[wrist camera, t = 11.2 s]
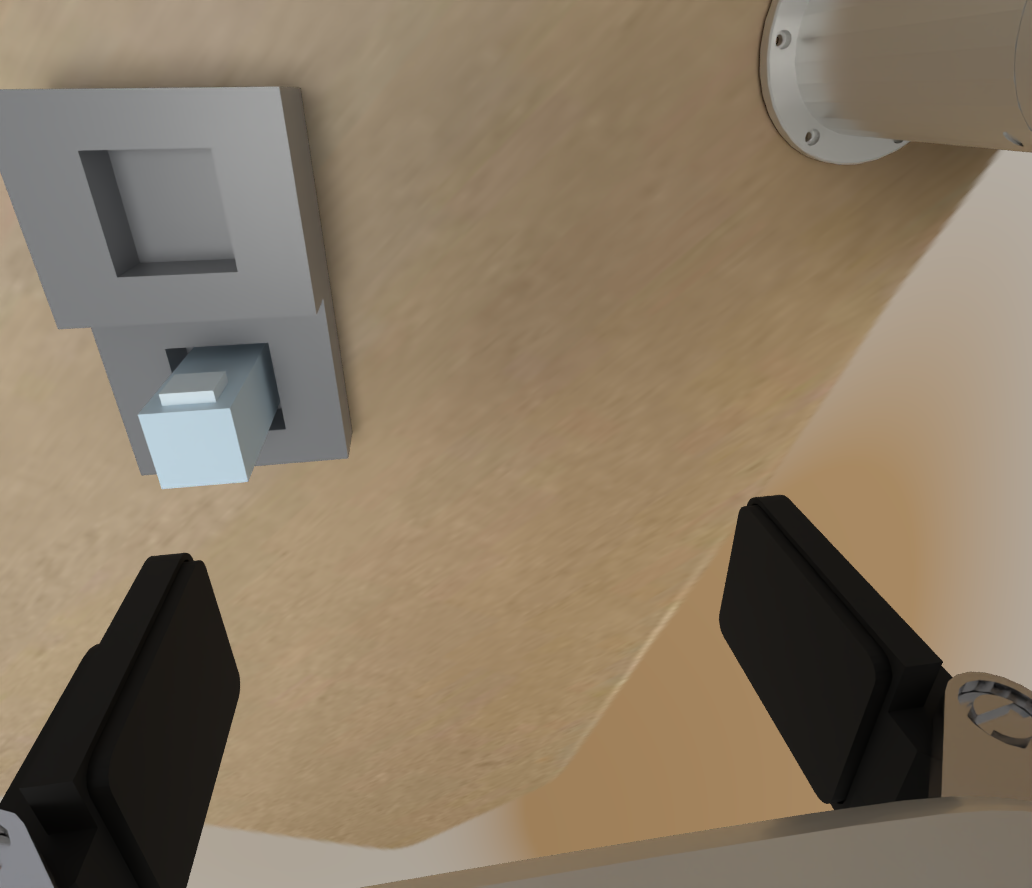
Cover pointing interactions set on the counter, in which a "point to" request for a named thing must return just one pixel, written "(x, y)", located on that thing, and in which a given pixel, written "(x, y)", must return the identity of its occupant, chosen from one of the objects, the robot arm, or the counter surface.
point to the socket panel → (182, 241)
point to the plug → (212, 416)
